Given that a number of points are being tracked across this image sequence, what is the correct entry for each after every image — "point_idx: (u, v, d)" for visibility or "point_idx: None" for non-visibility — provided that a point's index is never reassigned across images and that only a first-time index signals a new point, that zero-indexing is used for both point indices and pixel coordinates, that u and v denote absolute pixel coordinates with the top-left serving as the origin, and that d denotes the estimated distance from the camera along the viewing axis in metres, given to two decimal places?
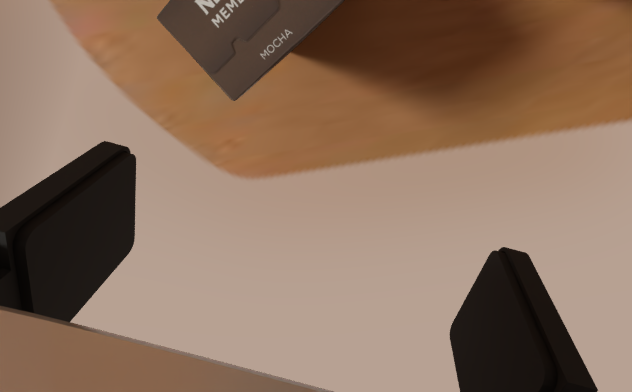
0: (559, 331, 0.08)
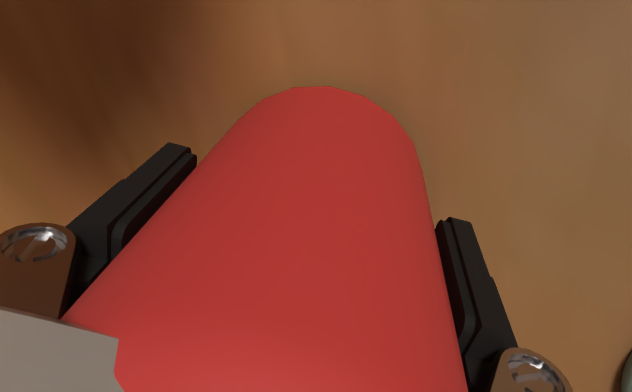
0: (485, 286, 0.09)
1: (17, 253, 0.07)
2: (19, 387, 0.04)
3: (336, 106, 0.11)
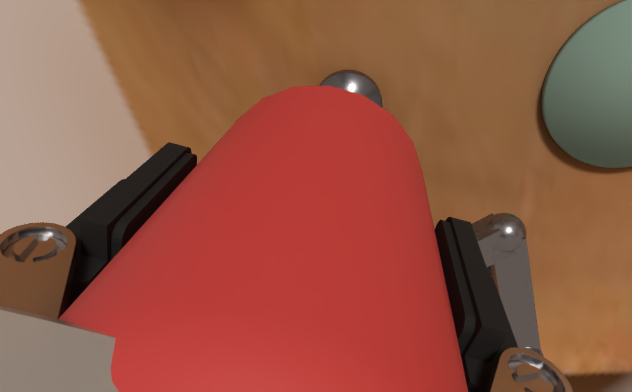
0: (485, 286, 0.09)
1: (17, 253, 0.07)
2: (20, 387, 0.04)
3: (336, 105, 0.11)
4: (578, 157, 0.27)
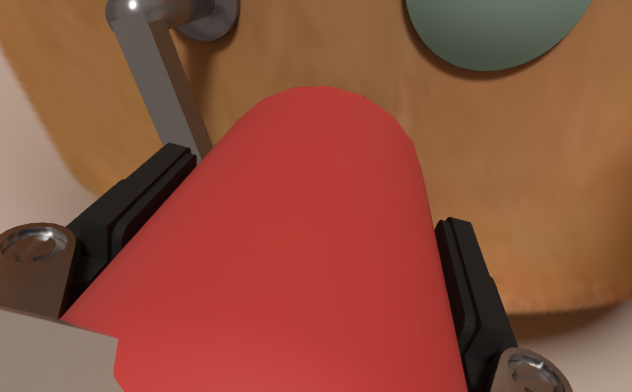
0: (485, 286, 0.09)
1: (17, 253, 0.07)
2: (19, 387, 0.04)
3: (335, 106, 0.11)
4: (447, 59, 0.25)
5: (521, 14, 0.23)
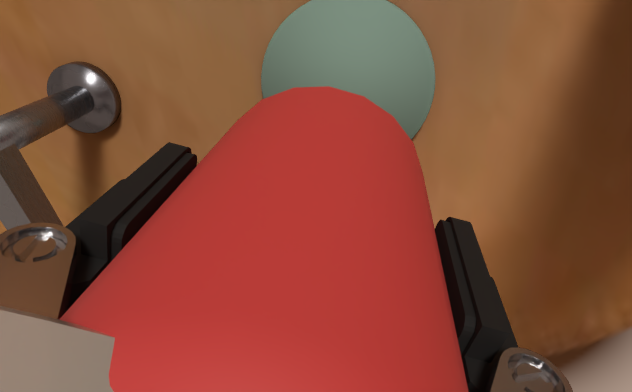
0: (485, 286, 0.09)
1: (17, 253, 0.07)
2: (19, 387, 0.04)
3: (336, 107, 0.11)
4: None
5: None
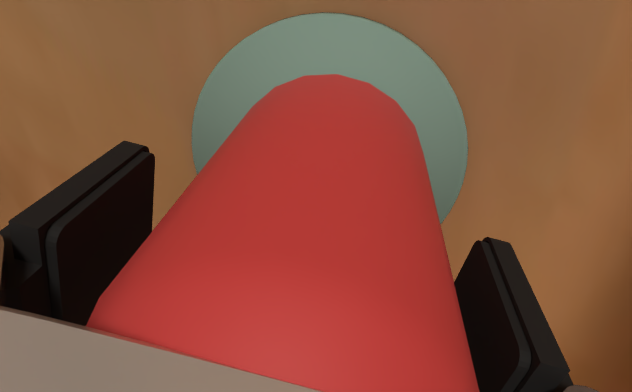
0: (536, 315, 0.08)
1: None
2: (20, 387, 0.04)
3: (344, 92, 0.12)
4: None
5: None
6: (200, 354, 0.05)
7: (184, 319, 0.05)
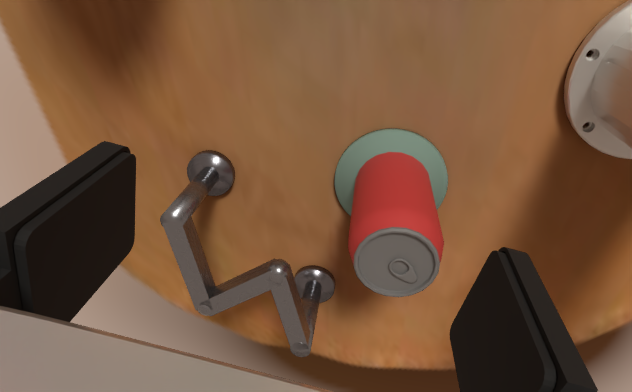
0: (559, 331, 0.08)
1: None
2: (20, 387, 0.04)
3: (406, 161, 0.35)
4: None
5: None
6: (397, 220, 0.27)
7: (392, 215, 0.28)
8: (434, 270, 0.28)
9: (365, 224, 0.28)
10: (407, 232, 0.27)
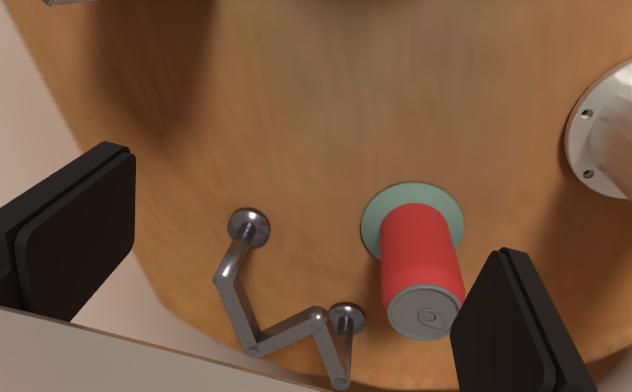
0: (559, 331, 0.08)
1: None
2: (19, 387, 0.04)
3: (425, 213, 0.39)
4: None
5: None
6: (423, 277, 0.32)
7: (419, 272, 0.32)
8: None
9: (395, 280, 0.32)
10: (433, 288, 0.31)
